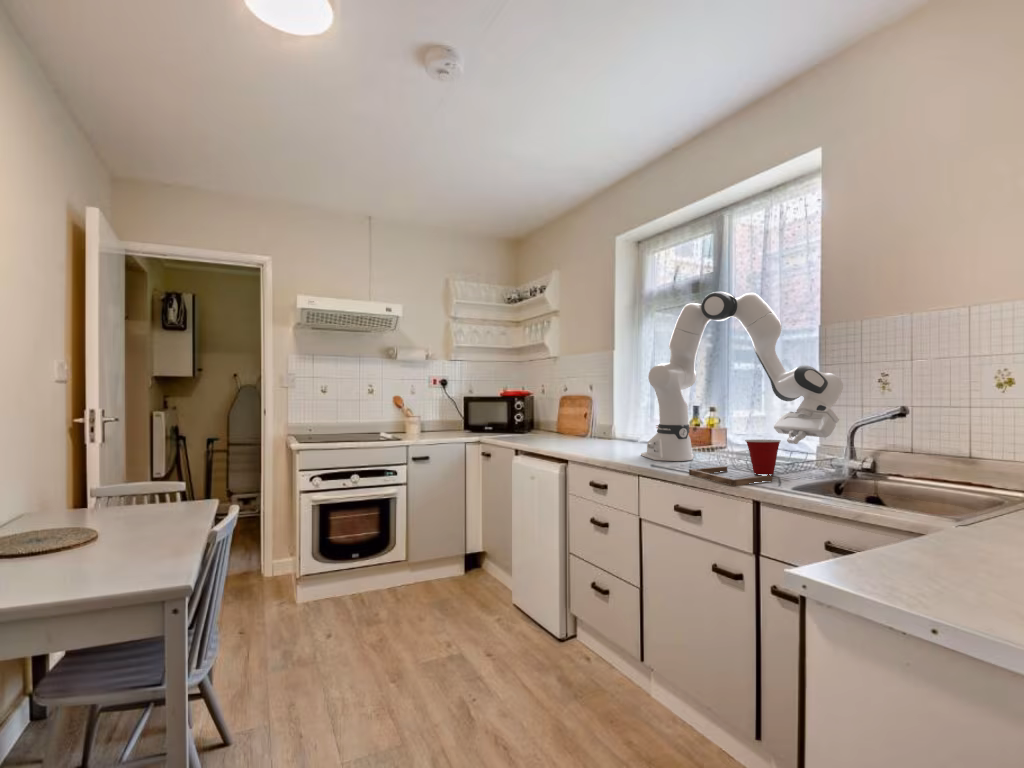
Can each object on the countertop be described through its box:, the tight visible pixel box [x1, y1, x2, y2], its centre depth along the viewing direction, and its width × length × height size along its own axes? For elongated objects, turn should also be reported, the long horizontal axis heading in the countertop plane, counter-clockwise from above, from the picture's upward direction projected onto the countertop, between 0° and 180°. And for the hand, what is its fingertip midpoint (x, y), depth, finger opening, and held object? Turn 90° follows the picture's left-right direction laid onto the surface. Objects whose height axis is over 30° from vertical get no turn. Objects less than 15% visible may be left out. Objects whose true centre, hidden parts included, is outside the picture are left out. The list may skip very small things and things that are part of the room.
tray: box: [688, 465, 773, 487], centre depth 163 cm, size 20×15×2 cm
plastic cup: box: [744, 439, 782, 475], centre depth 168 cm, size 11×11×12 cm
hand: (791, 442), depth 172 cm, fingers closed
